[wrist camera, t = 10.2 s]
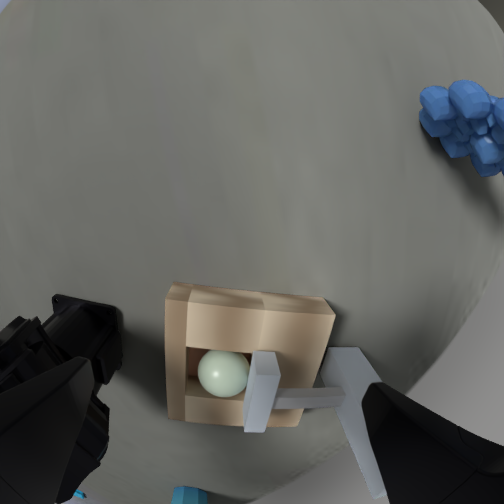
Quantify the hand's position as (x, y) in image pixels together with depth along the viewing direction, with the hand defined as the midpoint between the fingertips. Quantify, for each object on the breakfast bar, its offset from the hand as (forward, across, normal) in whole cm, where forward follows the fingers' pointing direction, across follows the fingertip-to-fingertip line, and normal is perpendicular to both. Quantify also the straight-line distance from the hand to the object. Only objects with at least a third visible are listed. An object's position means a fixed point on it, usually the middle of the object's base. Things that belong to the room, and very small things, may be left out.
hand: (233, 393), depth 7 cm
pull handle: (+13, -7, +8) cm, 17 cm away
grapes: (+13, -17, -14) cm, 26 cm away
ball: (+11, 0, +8) cm, 13 cm away
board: (+13, -2, +8) cm, 15 cm away
